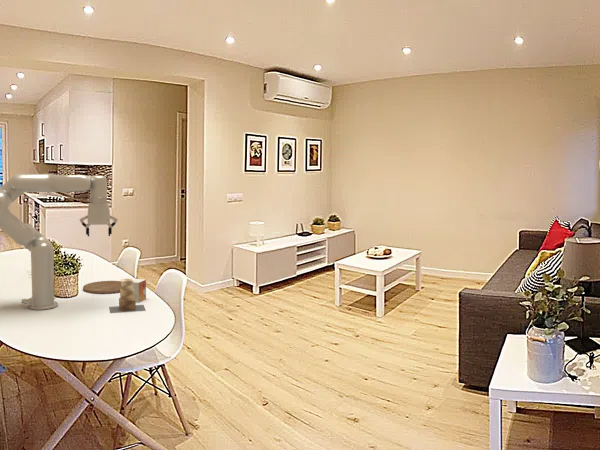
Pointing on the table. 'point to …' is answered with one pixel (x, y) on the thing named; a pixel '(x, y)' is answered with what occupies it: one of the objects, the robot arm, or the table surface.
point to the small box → (139, 289)
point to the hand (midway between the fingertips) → (98, 235)
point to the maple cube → (126, 285)
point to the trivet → (103, 287)
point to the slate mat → (117, 310)
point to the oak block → (127, 295)
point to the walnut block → (127, 305)
